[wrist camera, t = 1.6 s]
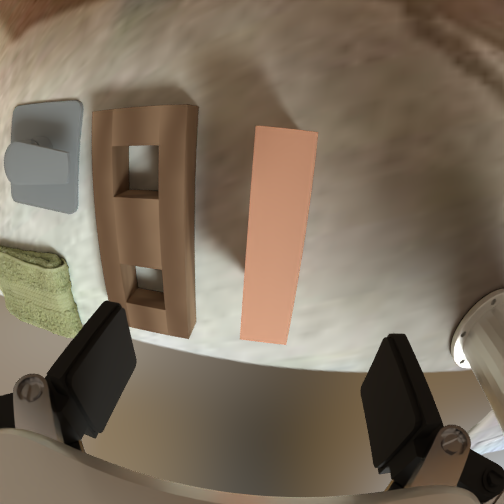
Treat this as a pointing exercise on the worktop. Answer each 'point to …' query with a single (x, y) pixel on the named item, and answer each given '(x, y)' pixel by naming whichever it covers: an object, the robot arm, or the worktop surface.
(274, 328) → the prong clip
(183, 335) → the slotted rail
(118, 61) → the worktop surface
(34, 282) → the washcloth
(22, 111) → the shower valve
